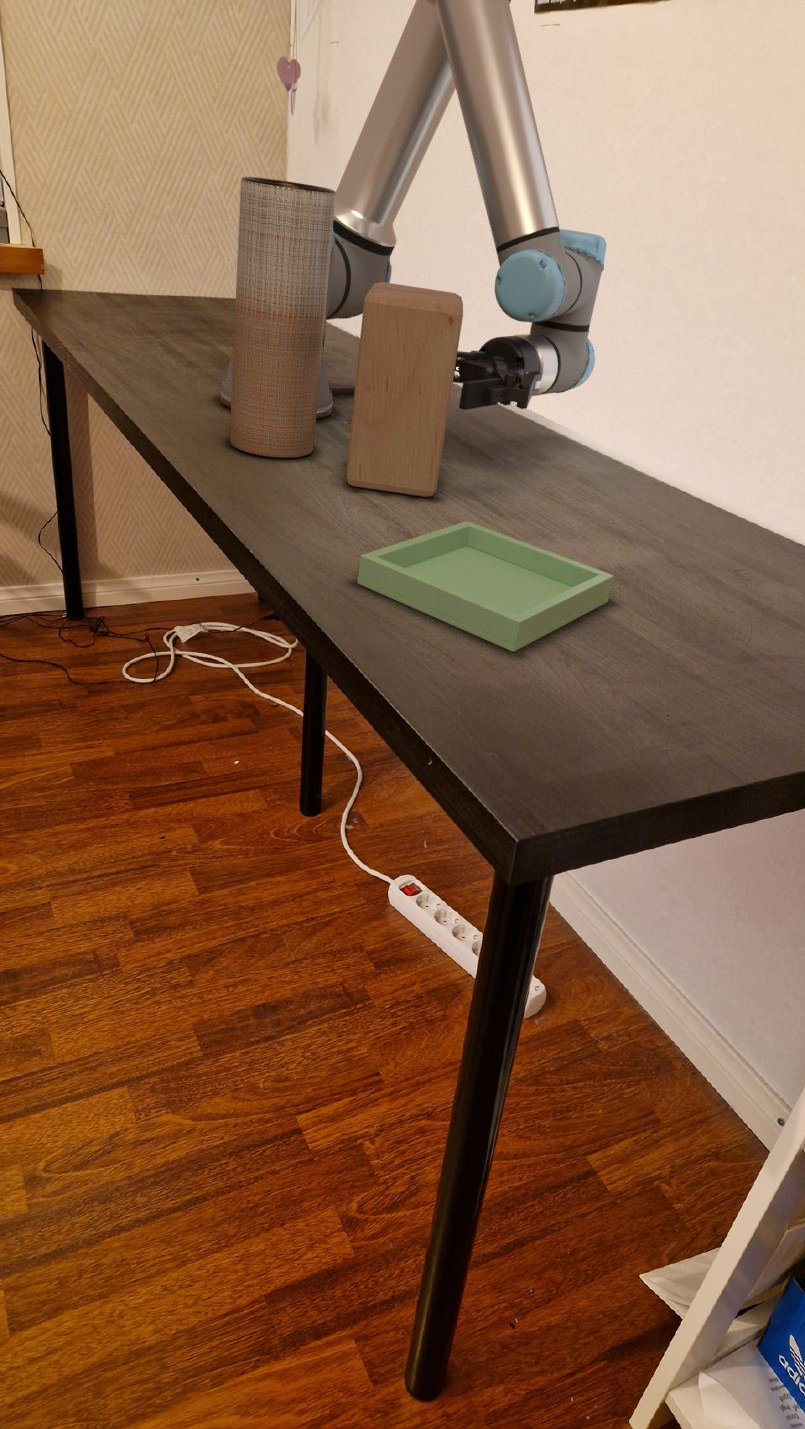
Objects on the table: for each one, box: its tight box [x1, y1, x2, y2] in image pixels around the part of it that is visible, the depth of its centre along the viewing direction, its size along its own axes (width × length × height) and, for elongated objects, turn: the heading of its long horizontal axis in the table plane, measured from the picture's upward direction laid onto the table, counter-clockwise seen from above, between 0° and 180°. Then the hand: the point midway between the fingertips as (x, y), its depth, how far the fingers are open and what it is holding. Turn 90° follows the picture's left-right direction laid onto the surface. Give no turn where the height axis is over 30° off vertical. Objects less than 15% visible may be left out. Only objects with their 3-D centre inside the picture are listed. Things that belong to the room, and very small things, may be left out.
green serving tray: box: [356, 520, 615, 653], centre depth 84 cm, size 16×16×3 cm
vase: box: [229, 176, 336, 460], centre depth 108 cm, size 10×10×28 cm
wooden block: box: [345, 282, 464, 498], centre depth 104 cm, size 10×10×20 cm
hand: (412, 381), depth 105 cm, fingers open, 13 cm apart
